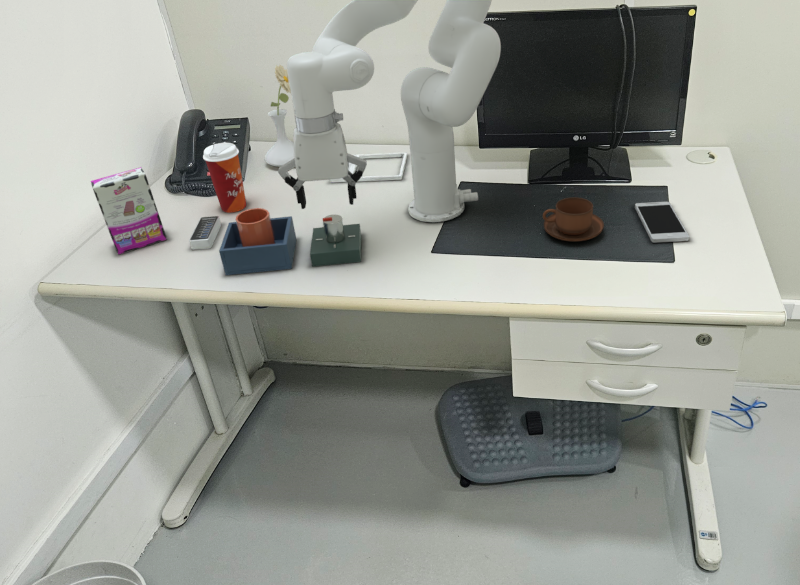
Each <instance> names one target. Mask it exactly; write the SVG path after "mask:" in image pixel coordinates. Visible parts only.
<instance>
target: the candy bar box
mask: <svg viewBox="0 0 800 585" xmlns="http://www.w3.org/2000/svg"><path fill="white" fill-rule="evenodd" d="M90 184H91V188H92V190H93V194H94V196H95V199H96V201H97V203H98V206H99V209H100V211H101V214H102V217H103V220H104V222H105V225H106V228H107V230H108V233H109V235H110V238H111V241H112V243H113V246H114V249H115V251H116V254H117V255H123V254H125V253H129V252H132V251H136V250H139V249H142V248H145V247H148V246H151V245H154V244H158V243H162V242H164V241H167V240H168V239H167V234H166V232H165V229H164V228H165V227H164V225H163V223H162V220H161V217H160V214H159V211H158V207H157V205H156V202H155V198H154V195H153V192H152V190H151V186H150V183H149V180H148V177H147V175H146V173H145V171H144V169H143V168H142V166H140V167H137V168H133V169H129V170H126V171H122V172H118V173H115V174H110V175H107V176H103V177H100V178H97V179H92V180H90Z"/></svg>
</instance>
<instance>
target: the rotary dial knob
mask: <svg viewBox="0 0 800 585" xmlns="http://www.w3.org/2000/svg"><path fill="white" fill-rule="evenodd" d="M343 225H344V221H343V217H342V215H340V214H328V215H326V216H325V217H322V227H324V232H325V237H326V241H327V242H330V243H337V242H340V241H342V240H344V238H345V234H344V227H343Z"/></svg>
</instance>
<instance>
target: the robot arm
mask: <svg viewBox="0 0 800 585" xmlns="http://www.w3.org/2000/svg"><path fill="white" fill-rule="evenodd" d="M418 1H419V0H350V2H348V3H347V4H345V5H344V6H343V7H342V8H340V9H339V10H338V11H337V12H336V13H335V14H334V15H333V17H331V19H330V20H329V22H328V23H327V24H326V25H325V27H324V28H323V30H322V31H321V33H320V34H319V36H318V38H317V39H316V41H315V42H314V44H313V46H312V49H311V51H304V52H299V53H295V54H293V55H291V56H290V57H289V58H288V59H287V61H286V69H287V72H288V78H289V84H290V90H291V93H290V96H291V103H292V109H293V114H294V120H295V121H294V122H295V127H294V129H293V135H292V136H293V142H294V157H295V158H294V159H292V160H290V161H289V162H287V163H286V164H284V165H282V166H281V167H278V169H277V173H278V174H279V176H280V177H281V178H282V179H283V180H284V183H286V184H287V185H288V186H289V187H290V188H292V189H293V191H295V194H296V200H297V204H300V207H301V210H305V209H306V206H307V198H306V192H305V186H304V184H305V183H306V182H315V181H316V182H318V181H330V179H340V178H343V179H344V180H345V181H346V182H345V183H346V184H347V195H348V202H349V205H350V206H353V205H354V200H355V199H357V189H356V184H357V183H358V182H359V181H358V180H359V179H360V178H361V177H363V175H364V172H365V170H366V168H367V163H368V162H367V160H366V159H361V158H359V157H356V156H354V155H355V154H351V153H349V152H348V148H347V144H346V139H345V135H344V131H343V127H342V125H341V123H339V122H341V121H344V114H343V113H342V112H341V113H339V112H337V111H336V109H335V104H334V102H335V101H334V97H333V93H334V92H342V91H351V90H357V89H361V88H362V87H364V86H366V85H367V84H368V83H370V81H371V80H372V78H373V76H374V73H375V64H374V63H375V62H374V60H373V58H372V56H371V55H370V54H369V52H367V51H366V50H364V49H362V48H361V47H358V46H357V45H358V44H359V43H360V41H361V40H363V39H364V38H365V37H366V36H368V35H369V34H370V33H372V32H374V31H375V30H377V29H379V28H382V27H386V26H388V25H392V24H395V23H397V22H399V21H401V20H403V19H405V18H406V17H407V16H408V15H409V14H410V13H411V11H412V10H413V8H414V7H415V5H416V4H417V2H418ZM492 1H493V0H446V1H445V3H444V6H443V8H442V10H441V13H440V15H439V17H438V19H437V21H436V23H435V26H434V28H433V30H432V32H431V35H430V37H429V40H428V45H427V46H428V54H429V56H430V57H431V59H432V60H433V61H435V62H436V63H438V64H440V65H442V66H445V67H448V68H451V69H450V72H449V73H448V72H446V71H442V70H439V69H436V68H432V67H427V66H426V67H425V66H422V67H417V68H414V69H412V70H410V71H409V72H408V73H407V74H406V75H405V77H404V78H403V80H402V82H401V86H400V100H401V105H402V110H403V113H404V117H405V120H406V125H407V126H406V127H407V133H408V141H409V155H410V156H409V157H410V165H411V177H412V187H413V200H412V201H410V202H409V204H408V207H407V209H408V215H409V216H410V217H412V218H413V219H415V220H417V221H419V222H426V223H441V222H446V221H450V220H453V219H455V218H458V217H459V216H461V214H462V213H463V212H464V211H465V203H466V202H478V201H479V194H478V192H477V191H475V192H472V189H470V188H467V189H460V188H458V184H457V173H456V155H455V153H456V152H455V134H454V128H457V127H461V126H463V125H465V124H466V123H467V122H468V121H470V120H471V118H472V117H473V115H474V114H475V112H476V111H477V109H478V107H479V105H480V103H481V101H482V98H483V97H484V94H485V92H486V90H487V88H488V86H489V84H490V82H491V80H492V77H493V76H494V73H495V72H496V69H497V67H498V64H499V61H500V57H501V51H502V45H501V39H500V36H499V34H498V32H497V31H496V29H495V28H493V27H492V26H491V25H488V24H487V23H484V22H485V21H486V17H487V15H488V12H489V10H490V7H491V5H492ZM349 163H352V164H355V165H357V168H356V170H355V173H354V174H353V173H351V172H350V171H349V170H348V168H349ZM294 168H295V173H296V178H295V177H293V176H292V175H291V174H290V173H289V172H290V171H292V170H293V169H294Z"/></svg>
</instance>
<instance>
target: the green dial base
mask: <svg viewBox="0 0 800 585" xmlns="http://www.w3.org/2000/svg"><path fill="white" fill-rule="evenodd" d="M343 227H344V234H345V238H344V240H342V241H340V242H337V243H330V242H327V241H326V237H325V232H324V226H322V227H313V229H312V234H311V242H310V250H309V257H310V262H311V267H312V268H313V267H323V266H332V265H342V264H343V265H344V264H352V263H355V264H356V263H361V262H362V232H361V224H360V223H352V224H343Z"/></svg>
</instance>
